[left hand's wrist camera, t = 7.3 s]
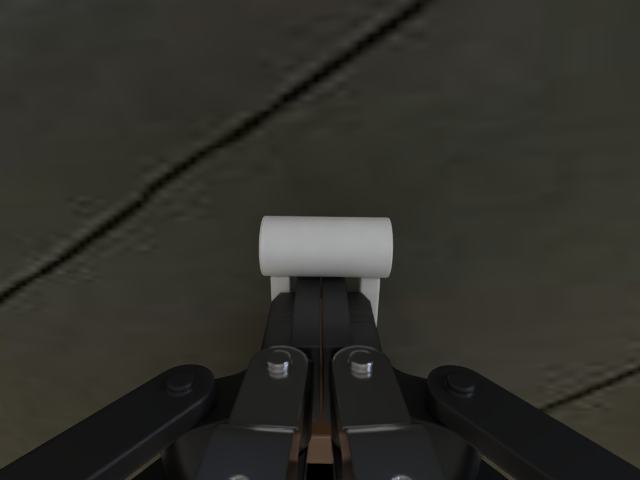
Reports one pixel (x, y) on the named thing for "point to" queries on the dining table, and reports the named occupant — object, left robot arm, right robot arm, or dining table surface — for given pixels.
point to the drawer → (325, 261)
